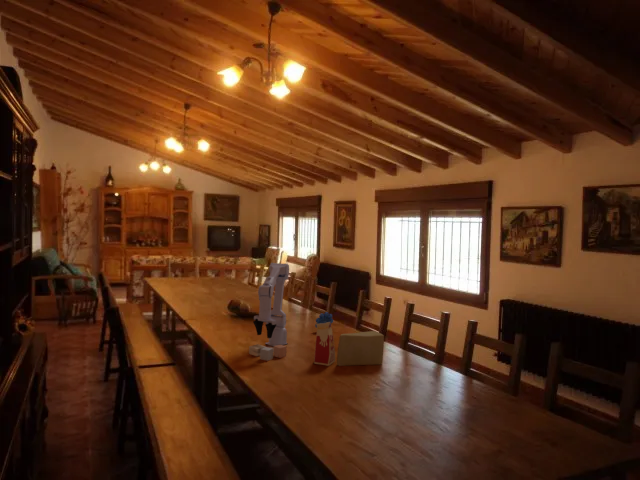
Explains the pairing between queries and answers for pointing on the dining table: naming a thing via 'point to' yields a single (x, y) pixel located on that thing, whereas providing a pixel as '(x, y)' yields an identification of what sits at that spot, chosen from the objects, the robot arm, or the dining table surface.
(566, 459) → the dining table surface
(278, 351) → the terracotta block
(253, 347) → the birch base block
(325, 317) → the grapes
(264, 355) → the grey painted block
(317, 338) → the milk carton
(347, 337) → the cheese
